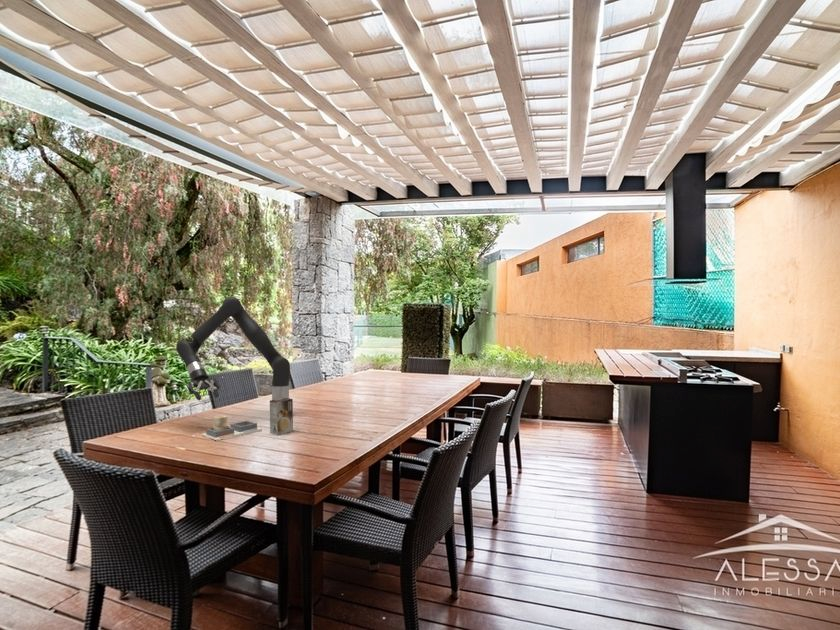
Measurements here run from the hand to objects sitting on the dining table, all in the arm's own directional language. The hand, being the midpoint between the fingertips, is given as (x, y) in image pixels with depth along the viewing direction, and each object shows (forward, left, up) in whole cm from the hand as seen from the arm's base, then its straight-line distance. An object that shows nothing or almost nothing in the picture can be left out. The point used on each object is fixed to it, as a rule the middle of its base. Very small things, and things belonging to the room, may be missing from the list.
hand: (208, 398), depth 220 cm
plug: (0, +11, -16) cm, 19 cm away
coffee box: (-22, +28, -17) cm, 39 cm away
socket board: (-6, +11, -17) cm, 21 cm away
